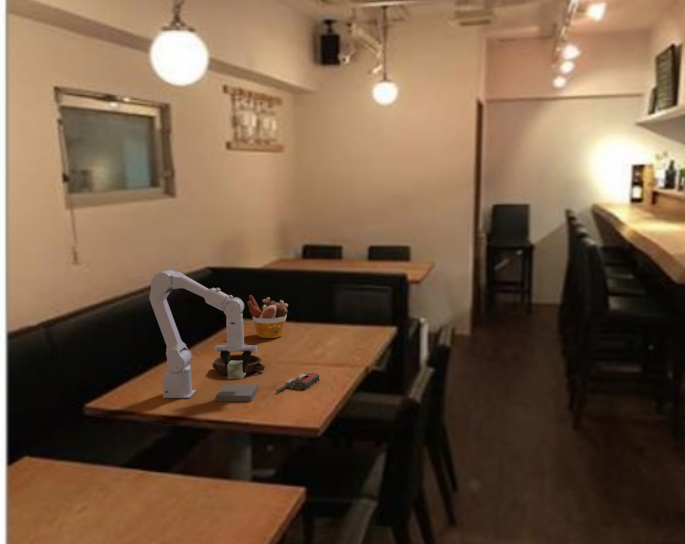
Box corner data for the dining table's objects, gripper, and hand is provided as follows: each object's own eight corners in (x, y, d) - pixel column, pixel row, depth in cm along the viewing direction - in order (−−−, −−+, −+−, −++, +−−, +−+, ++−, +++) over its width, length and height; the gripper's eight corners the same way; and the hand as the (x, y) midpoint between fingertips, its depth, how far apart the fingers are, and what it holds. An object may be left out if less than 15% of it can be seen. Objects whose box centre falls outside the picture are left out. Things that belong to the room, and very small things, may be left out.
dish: (255, 380, 250) (255, 367, 249) (202, 376, 256) (201, 363, 255) (272, 367, 267) (272, 355, 266) (221, 364, 272) (221, 352, 272)
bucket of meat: (293, 332, 324) (292, 292, 322) (284, 341, 308) (283, 298, 306) (254, 331, 328) (252, 291, 325) (243, 339, 312) (241, 298, 309)
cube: (227, 378, 229) (227, 364, 228) (231, 374, 233) (231, 360, 233) (242, 378, 228) (241, 364, 227) (245, 374, 233) (245, 360, 232)
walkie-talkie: (300, 378, 252) (274, 394, 234) (300, 367, 251) (274, 382, 233) (321, 381, 248) (296, 397, 230) (321, 369, 247) (296, 385, 229)
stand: (216, 401, 227) (215, 395, 226) (225, 389, 238) (225, 384, 238) (250, 401, 226) (250, 395, 225) (258, 390, 237) (258, 384, 237)
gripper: (211, 336, 226) (213, 375, 227) (253, 336, 224) (254, 375, 226) (216, 331, 232) (218, 369, 234) (257, 331, 231) (259, 369, 233)
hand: (236, 372), depth 231 cm, fingers closed on cube, 5 cm apart
